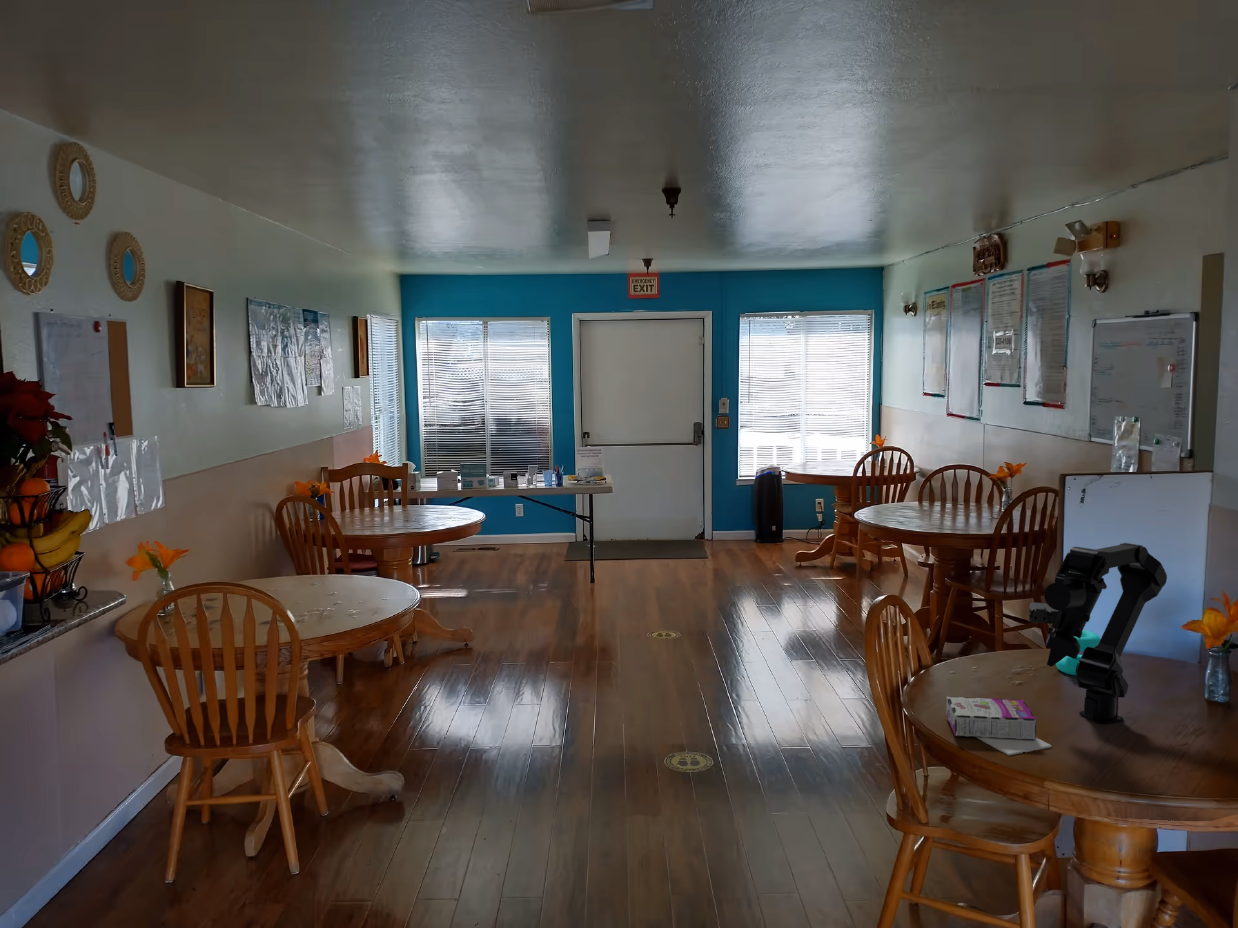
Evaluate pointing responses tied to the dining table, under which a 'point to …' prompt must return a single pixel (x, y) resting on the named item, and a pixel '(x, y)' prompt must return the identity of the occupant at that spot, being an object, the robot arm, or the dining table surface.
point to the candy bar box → (990, 718)
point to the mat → (1015, 745)
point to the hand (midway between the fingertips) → (1049, 665)
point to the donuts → (1069, 663)
